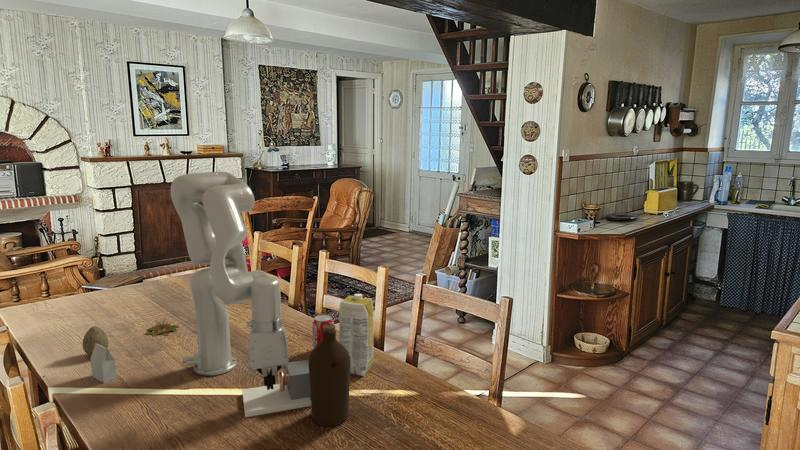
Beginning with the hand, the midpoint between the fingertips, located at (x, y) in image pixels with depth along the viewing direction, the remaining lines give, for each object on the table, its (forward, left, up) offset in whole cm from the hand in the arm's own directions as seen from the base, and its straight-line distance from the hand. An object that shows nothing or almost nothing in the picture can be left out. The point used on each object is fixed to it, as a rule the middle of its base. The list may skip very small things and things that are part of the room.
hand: (269, 387), depth 141 cm
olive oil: (+14, -12, -4) cm, 19 cm away
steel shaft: (+10, 0, -1) cm, 10 cm away
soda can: (+20, +26, -4) cm, 33 cm away
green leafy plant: (-32, +62, -5) cm, 70 cm away
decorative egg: (-50, +46, -4) cm, 68 cm away
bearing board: (+7, 0, -4) cm, 8 cm away
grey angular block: (-45, +29, -4) cm, 54 cm away
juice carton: (+27, +10, -4) cm, 29 cm away
